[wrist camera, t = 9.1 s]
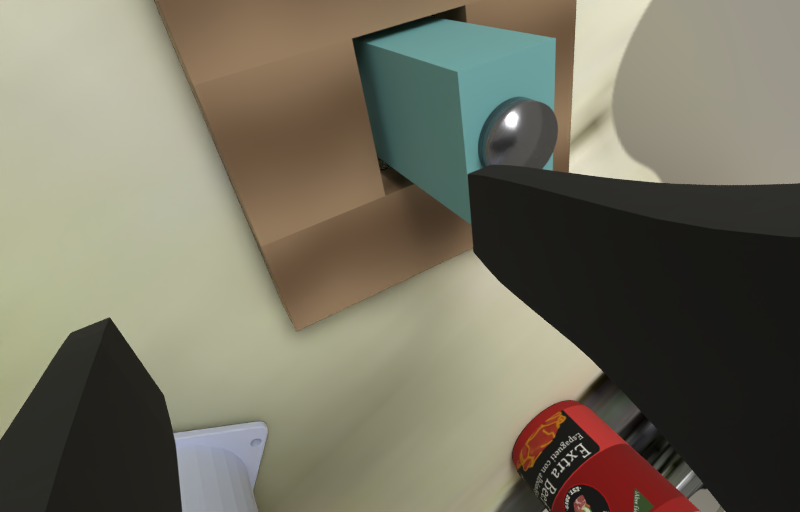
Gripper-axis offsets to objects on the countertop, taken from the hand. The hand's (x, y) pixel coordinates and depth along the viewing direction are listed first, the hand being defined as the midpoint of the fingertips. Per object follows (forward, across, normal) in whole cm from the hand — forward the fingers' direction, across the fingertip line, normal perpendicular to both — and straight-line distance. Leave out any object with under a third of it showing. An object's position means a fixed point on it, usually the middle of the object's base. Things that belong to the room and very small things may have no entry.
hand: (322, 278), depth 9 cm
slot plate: (+9, -6, 0) cm, 11 cm away
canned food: (+10, -15, +30) cm, 35 cm away
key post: (+9, -6, 0) cm, 11 cm away
